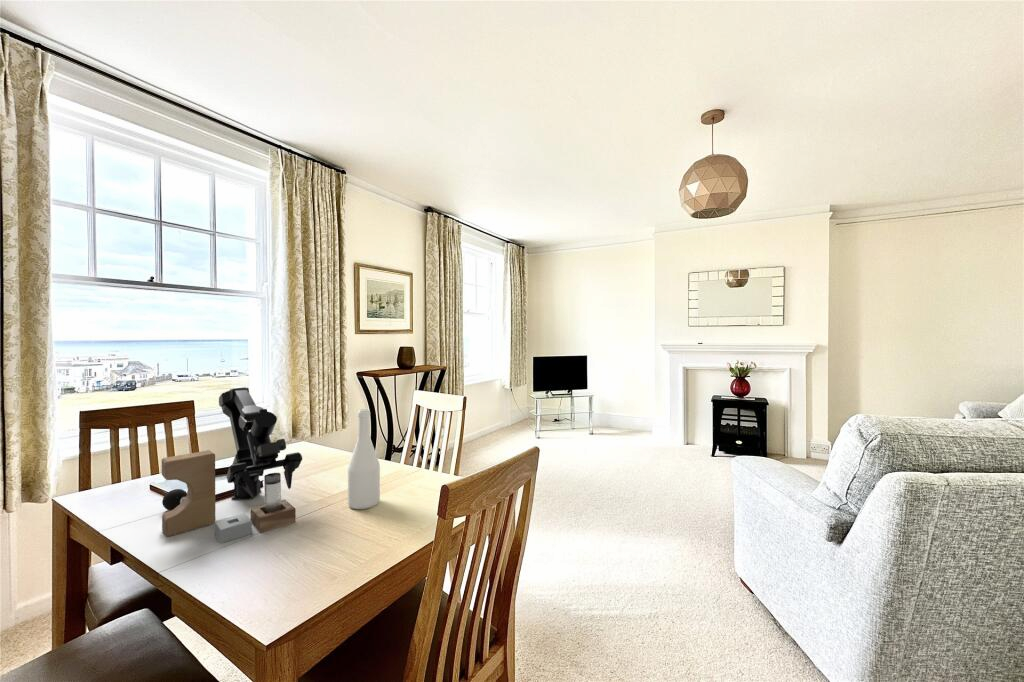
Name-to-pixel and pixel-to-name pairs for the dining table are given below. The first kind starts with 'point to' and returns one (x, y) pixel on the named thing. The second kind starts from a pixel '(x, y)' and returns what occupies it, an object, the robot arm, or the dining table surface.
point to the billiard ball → (173, 498)
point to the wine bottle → (363, 468)
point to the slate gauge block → (232, 527)
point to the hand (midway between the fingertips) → (272, 492)
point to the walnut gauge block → (273, 517)
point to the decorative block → (191, 492)
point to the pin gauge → (272, 492)
